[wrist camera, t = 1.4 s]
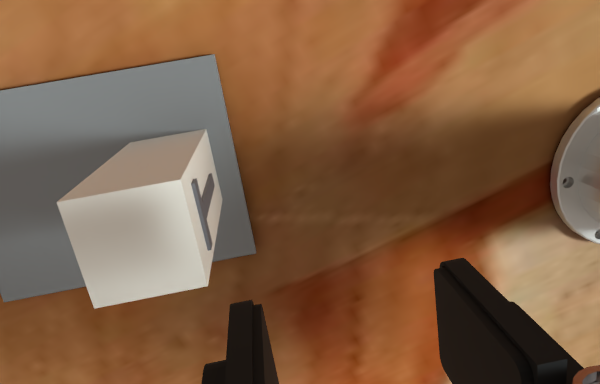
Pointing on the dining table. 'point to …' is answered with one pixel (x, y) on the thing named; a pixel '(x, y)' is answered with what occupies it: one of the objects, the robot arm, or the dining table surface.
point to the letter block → (146, 219)
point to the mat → (100, 159)
